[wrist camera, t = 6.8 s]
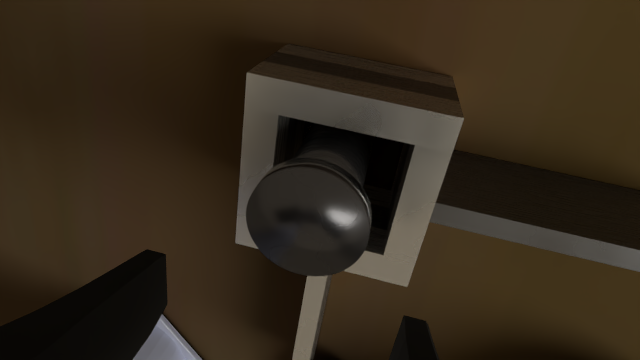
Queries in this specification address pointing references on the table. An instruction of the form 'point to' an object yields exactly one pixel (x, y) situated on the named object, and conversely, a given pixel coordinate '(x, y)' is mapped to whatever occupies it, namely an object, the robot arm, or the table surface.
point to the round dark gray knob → (315, 204)
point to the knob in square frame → (419, 172)
